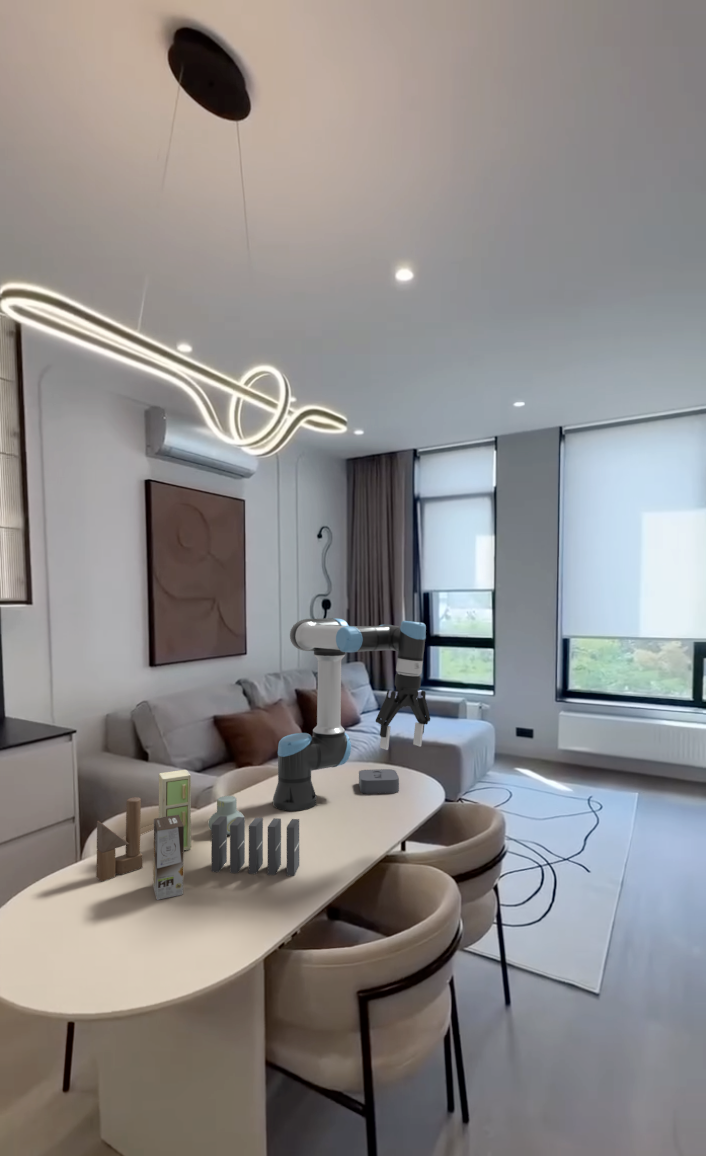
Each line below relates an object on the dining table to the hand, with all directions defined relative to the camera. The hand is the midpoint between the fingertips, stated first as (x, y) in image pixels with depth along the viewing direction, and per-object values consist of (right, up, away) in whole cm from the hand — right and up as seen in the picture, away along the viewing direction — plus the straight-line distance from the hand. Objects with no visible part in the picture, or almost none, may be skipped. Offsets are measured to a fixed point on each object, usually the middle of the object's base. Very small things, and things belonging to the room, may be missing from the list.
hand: (401, 747), depth 166 cm
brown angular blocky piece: (-75, -27, -18) cm, 81 cm away
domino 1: (-49, -27, -15) cm, 58 cm away
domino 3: (-40, -27, -17) cm, 51 cm away
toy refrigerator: (-65, -28, -4) cm, 71 cm away
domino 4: (-35, -27, -17) cm, 47 cm away
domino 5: (-30, -27, -18) cm, 44 cm away
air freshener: (-53, -29, +9) cm, 61 cm away
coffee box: (-59, -27, -27) cm, 70 cm away
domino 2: (-44, -27, -16) cm, 54 cm away
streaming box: (-4, -31, +51) cm, 60 cm away
